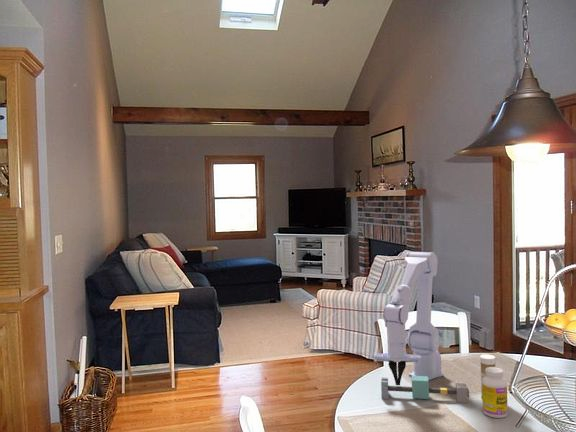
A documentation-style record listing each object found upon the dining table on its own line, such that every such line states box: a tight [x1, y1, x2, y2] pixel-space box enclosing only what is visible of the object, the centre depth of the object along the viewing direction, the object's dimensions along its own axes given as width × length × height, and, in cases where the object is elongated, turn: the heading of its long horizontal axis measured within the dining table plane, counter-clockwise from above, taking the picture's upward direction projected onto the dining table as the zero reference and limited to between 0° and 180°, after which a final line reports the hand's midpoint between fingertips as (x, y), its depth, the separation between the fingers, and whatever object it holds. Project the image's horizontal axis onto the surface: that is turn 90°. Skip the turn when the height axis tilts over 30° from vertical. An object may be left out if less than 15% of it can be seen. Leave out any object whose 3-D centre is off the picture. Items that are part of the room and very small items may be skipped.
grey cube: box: [455, 382, 470, 404], centre depth 146 cm, size 4×4×4 cm
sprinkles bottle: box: [479, 353, 497, 399], centre depth 146 cm, size 5×5×13 cm
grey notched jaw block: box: [380, 377, 390, 400], centre depth 151 cm, size 2×5×5 cm, turn 167°
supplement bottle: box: [481, 366, 509, 419], centre depth 136 cm, size 7×7×13 cm
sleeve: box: [411, 376, 430, 400], centre depth 149 cm, size 5×4×6 cm
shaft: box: [388, 385, 457, 395], centre depth 149 cm, size 23×1×1 cm, turn 77°
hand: (397, 384), depth 150 cm, fingers closed
